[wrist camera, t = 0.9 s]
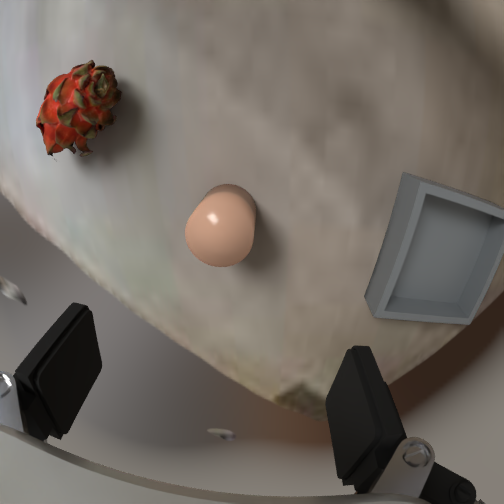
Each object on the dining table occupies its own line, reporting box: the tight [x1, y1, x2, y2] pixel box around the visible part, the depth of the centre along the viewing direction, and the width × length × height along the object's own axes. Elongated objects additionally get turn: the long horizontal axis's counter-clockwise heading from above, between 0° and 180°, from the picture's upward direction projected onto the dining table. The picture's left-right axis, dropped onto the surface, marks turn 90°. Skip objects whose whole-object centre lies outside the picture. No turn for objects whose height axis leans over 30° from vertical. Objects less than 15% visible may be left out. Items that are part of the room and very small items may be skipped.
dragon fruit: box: [36, 60, 122, 160], centre depth 25 cm, size 8×8×12 cm
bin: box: [364, 172, 504, 325], centre depth 31 cm, size 16×16×4 cm
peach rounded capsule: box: [185, 184, 256, 267], centre depth 30 cm, size 6×6×7 cm
